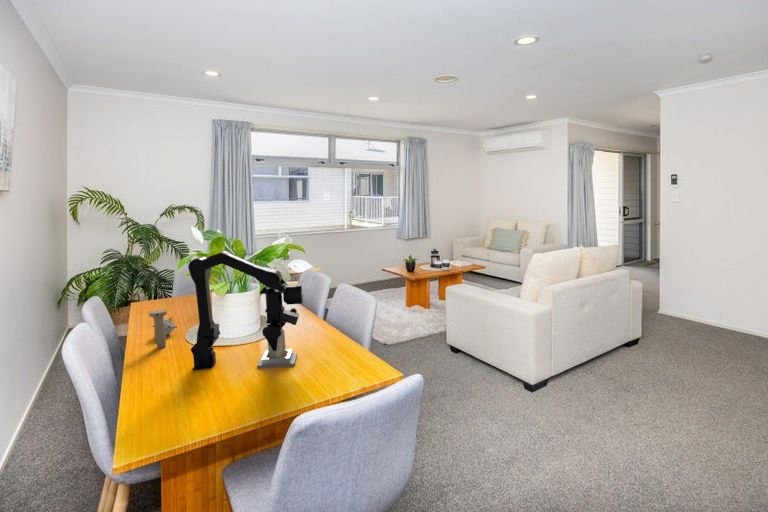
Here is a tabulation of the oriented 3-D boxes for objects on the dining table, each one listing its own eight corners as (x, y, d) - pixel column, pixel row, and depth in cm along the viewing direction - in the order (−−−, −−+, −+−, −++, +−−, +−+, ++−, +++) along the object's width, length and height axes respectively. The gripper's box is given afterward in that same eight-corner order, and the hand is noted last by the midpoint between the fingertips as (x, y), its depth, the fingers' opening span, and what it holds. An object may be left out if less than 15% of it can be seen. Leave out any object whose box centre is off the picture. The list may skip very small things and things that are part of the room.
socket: (257, 368, 150) (256, 360, 150) (262, 357, 160) (261, 350, 160) (294, 366, 152) (293, 358, 151) (297, 355, 161) (296, 348, 161)
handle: (169, 347, 172) (166, 312, 170) (151, 350, 170) (148, 314, 168) (170, 344, 177) (167, 309, 175) (153, 346, 174) (149, 311, 172)
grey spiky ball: (162, 343, 189) (154, 323, 191) (181, 333, 192) (173, 314, 194) (156, 339, 181) (147, 319, 183) (176, 330, 183) (167, 310, 186)
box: (286, 358, 156) (285, 329, 154) (277, 362, 153) (275, 333, 151) (277, 355, 159) (275, 327, 157) (268, 359, 156) (266, 330, 154)
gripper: (294, 311, 144) (296, 354, 147) (299, 297, 163) (301, 336, 165) (260, 312, 143) (263, 356, 146) (269, 298, 161) (272, 338, 164)
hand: (276, 346), depth 155 cm, fingers open, 9 cm apart
